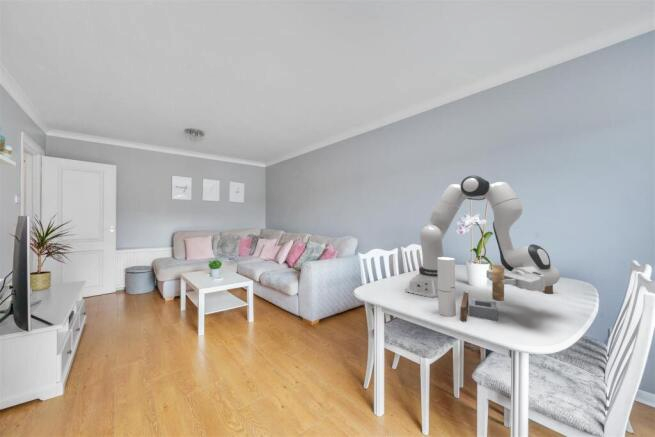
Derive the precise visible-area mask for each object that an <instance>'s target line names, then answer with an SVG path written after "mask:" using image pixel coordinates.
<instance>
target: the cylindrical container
mask: <svg viewBox="0 0 655 437" xmlns="http://www.w3.org/2000/svg"><path fill="white" fill-rule="evenodd" d="M437 266H438V296H437V303H438V304H437V306H438V307H437V308H438V309H437V310H438V311H437V312H438V313H437V314H439V315H441V316H444V317H455V316H456V315H457V308H456V306H457V305H456V303H457V301H456V258H453V257H448V256H443V257H439V258H437Z"/></svg>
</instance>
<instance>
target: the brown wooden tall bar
mask: <svg viewBox="0 0 655 437" xmlns="http://www.w3.org/2000/svg"><path fill="white" fill-rule="evenodd" d="M491 266H492V269H491V270H492V281H491V282H492V284H491V285H492V286H491V289H492V290H491V291H492V292H491V293H492V294H491V297H492V300H494V301H499V302H504V301H505V284H501V279H504V271H505V267H504V266H503V265H502V264H492V265H491Z"/></svg>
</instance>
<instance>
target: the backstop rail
mask: <svg viewBox="0 0 655 437" xmlns="http://www.w3.org/2000/svg"><path fill="white" fill-rule="evenodd" d="M460 303H461V304H460V322H467V319H468V312H469V307H470V300H469V292H465V291H464V292H463V295H462V299H461V302H460Z"/></svg>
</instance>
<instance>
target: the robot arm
mask: <svg viewBox="0 0 655 437" xmlns="http://www.w3.org/2000/svg"><path fill="white" fill-rule="evenodd" d="M485 199H486V200H487V201H488V202H489V205H490V207H491V209H492V212H493V222H492V228H493V232H494V236H495V240H496V243H497V246H498V251H499V257H500V258H499V259H500V263H501V265H503V266H504V269H505V270H504V279H501V284H504V285H511V286H514V287H516V288H518V289H522V290H526V291H530V292H532V291H533V292H534V291H535V292H542V291H544V290H545V287H546V286H551V285H553V286H554V285H555V284H557V283H558V282H559V281H560V279H561V274H560V271H559V269H557V268H556V267H555V266H554V265H552V263H551V259H550V256H549V253H548V252H547V251H546V250H545V249H544V248H543V247H541V246H539V245H537V244H534V243H533V244H529V245H524V246H521V247H519V248H514V246H513V243H512V239H511V236H510V229H511V228H512V226H513V225H514V223H516V222H517V221H518V220H519V219H520V218H521V216H522V214H523V205H522V203H521V201H520V200H519V197H518V195H517V194H516V193H515V191H514V189H513V188H512V186H511V185H510V184H509V183H507V182H505V181H497V182H494V183H490V182H489V181H488V180H486V179H484V178H482V177H481V176H479V175H468V176H467V177H465V178H463V180H462V181H461V183H460V184H458V183H451V184H449V185H448V186H447V187H446V189H445V190H444V192H443V193H442V195H441V196H440V198H439V199H438V202H437V204H436V205H435V207H434V209H433V211H432V213H431V215H430V218H429V220H428V222H427V225H426V226H424V227H422V228H421V230H420V233H419V235H420V236H419V237H420V238H419V239H420V246H421V253H422V265H421V266H420V267H419V268H418V274H416V275H415V276H413V277H412V278H411V279H410V281H409V283H408V285H407V286H406V287H405V288H404V289H405V290H404V291H405V293H408V292H409V293H408V294H413V293H414V294H413V295H417V294H418V296H423V297H427V298H435V297H438V266H437V258H439V257H444V249H443V248H444V247H443V239H444V237H445V235H446V233H447V232H448V229H450V225H451V224H452V222H453V220H454V219H455V217H456V215H457V213H458V212H459V210H460V208H461V206H462V204H463V203H464V202H465V200H473V201H483V200H485ZM485 276H486V278H487V279H488V280H489V281H491V282H492V269H487V270H486V275H485Z"/></svg>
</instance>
